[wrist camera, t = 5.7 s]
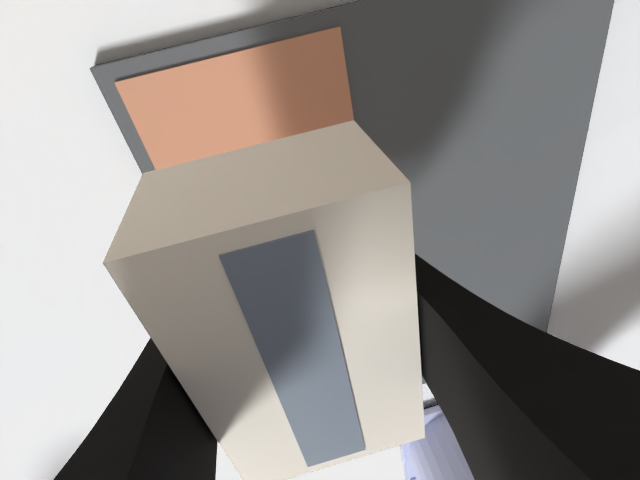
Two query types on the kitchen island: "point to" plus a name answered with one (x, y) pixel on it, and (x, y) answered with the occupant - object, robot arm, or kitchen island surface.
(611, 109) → the kitchen island surface
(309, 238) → the card deck
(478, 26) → the mat
